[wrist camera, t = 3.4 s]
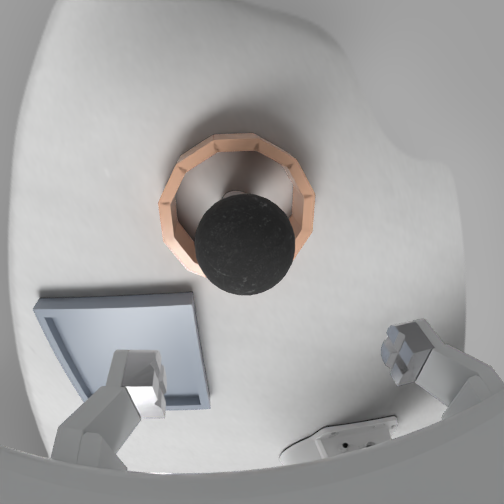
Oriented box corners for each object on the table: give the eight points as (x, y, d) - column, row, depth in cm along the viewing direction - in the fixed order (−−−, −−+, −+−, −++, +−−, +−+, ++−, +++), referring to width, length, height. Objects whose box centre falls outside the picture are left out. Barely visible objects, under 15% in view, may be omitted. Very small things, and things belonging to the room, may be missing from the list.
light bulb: (275, 227, 25) (310, 304, 16) (206, 241, 25) (208, 325, 16) (265, 160, 22) (303, 206, 14) (190, 174, 22) (179, 231, 14)
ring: (305, 133, 22) (318, 138, 19) (298, 258, 27) (308, 276, 24) (159, 138, 21) (152, 145, 18) (173, 266, 26) (170, 287, 23)
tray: (192, 291, 27) (192, 304, 26) (209, 397, 35) (210, 408, 33) (39, 298, 25) (32, 309, 24) (89, 396, 33) (86, 406, 31)
